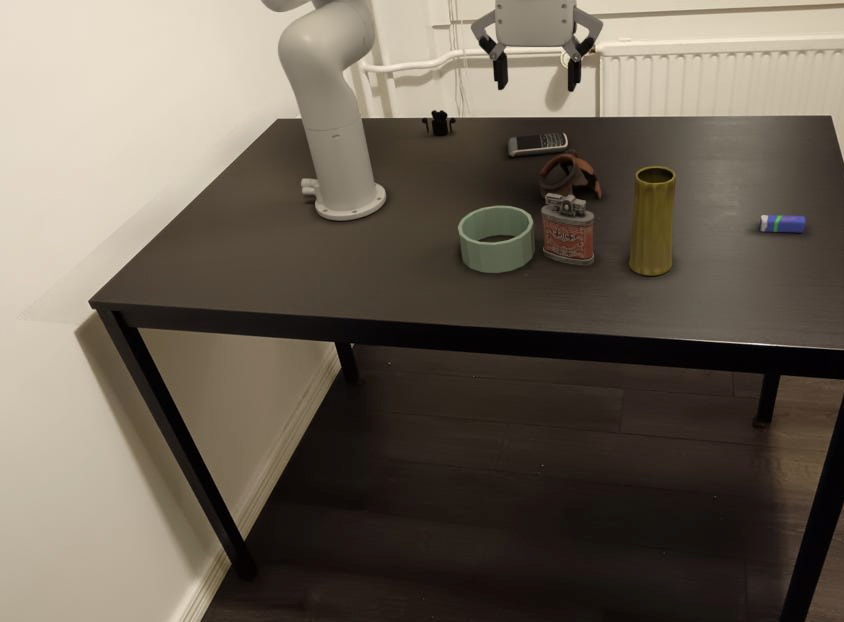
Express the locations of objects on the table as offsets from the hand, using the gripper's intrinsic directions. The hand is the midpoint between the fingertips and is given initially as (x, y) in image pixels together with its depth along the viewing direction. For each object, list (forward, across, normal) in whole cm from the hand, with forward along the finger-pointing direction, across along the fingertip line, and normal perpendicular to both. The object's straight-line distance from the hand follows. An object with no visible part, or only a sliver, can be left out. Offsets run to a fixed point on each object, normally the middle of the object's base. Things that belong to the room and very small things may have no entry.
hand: (537, 87), depth 103 cm
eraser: (+23, -35, -6) cm, 42 cm away
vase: (+24, -17, +6) cm, 30 cm away
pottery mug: (+24, -2, -14) cm, 28 cm away
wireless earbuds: (+25, +28, -36) cm, 52 cm away
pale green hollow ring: (+24, +6, +5) cm, 25 cm away
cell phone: (+24, +7, -31) cm, 40 cm away
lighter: (+24, -5, +5) cm, 25 cm away
